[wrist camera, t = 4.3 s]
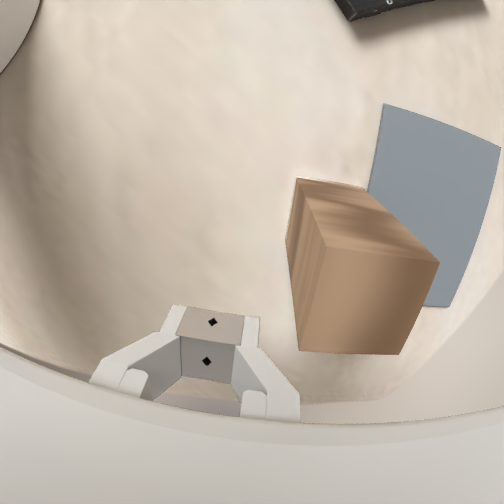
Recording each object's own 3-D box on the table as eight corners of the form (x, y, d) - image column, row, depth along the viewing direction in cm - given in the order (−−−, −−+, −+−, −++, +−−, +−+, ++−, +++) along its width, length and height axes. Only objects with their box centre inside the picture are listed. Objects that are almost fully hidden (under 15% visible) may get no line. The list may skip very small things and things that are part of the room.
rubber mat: (339, 296, 26) (340, 298, 25) (383, 103, 19) (385, 103, 18) (447, 304, 26) (449, 306, 26) (498, 146, 19) (501, 147, 19)
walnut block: (285, 239, 24) (298, 350, 13) (295, 175, 22) (326, 246, 11) (347, 247, 24) (398, 354, 13) (361, 186, 22) (440, 262, 11)
